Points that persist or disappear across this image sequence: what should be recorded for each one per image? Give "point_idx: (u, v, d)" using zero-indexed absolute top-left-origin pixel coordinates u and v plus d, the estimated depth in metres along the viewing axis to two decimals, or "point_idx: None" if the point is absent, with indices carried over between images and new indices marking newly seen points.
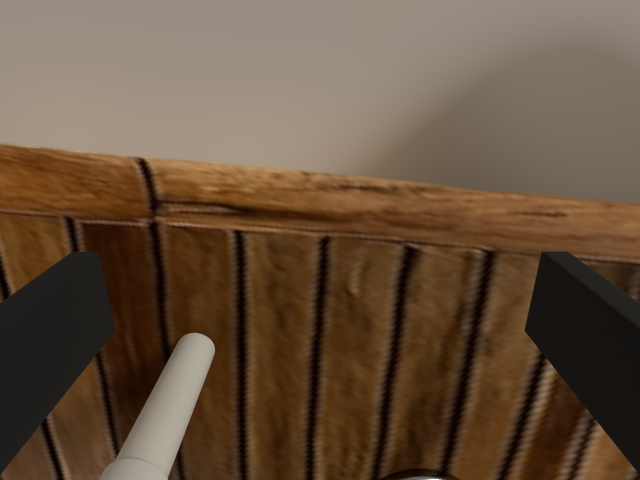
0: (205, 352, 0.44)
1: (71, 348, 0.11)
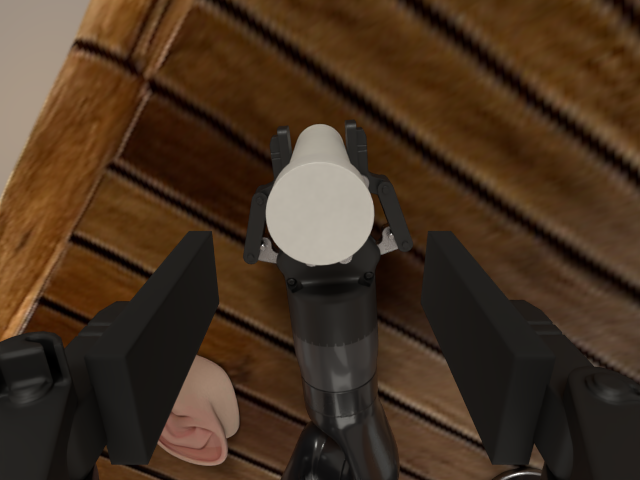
0: (318, 127, 0.34)
1: (200, 313, 0.12)
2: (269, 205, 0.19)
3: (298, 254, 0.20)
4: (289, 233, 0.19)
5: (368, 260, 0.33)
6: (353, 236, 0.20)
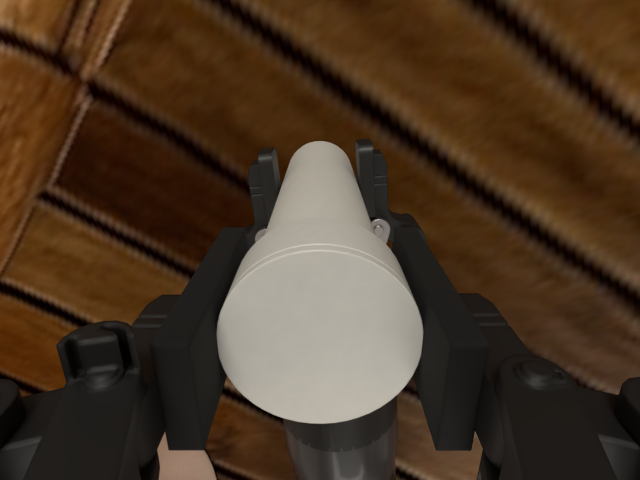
0: (317, 146, 0.25)
1: None
2: (222, 326, 0.10)
3: (280, 407, 0.11)
4: (262, 373, 0.10)
5: None
6: (382, 378, 0.10)
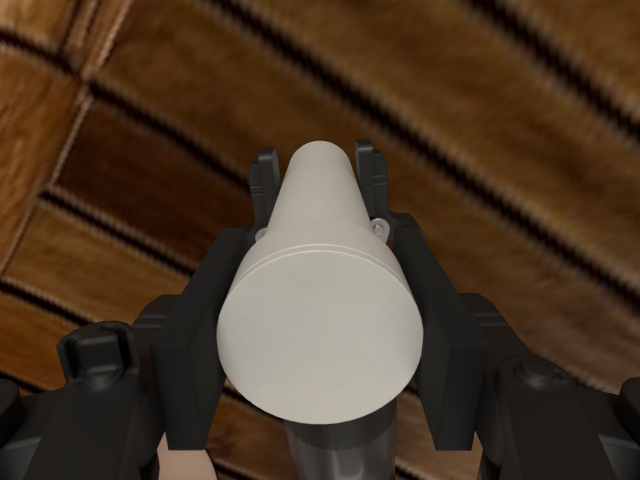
0: (317, 146, 0.25)
1: None
2: (291, 416, 0.11)
3: (391, 385, 0.10)
4: (347, 395, 0.11)
5: None
6: (370, 292, 0.09)
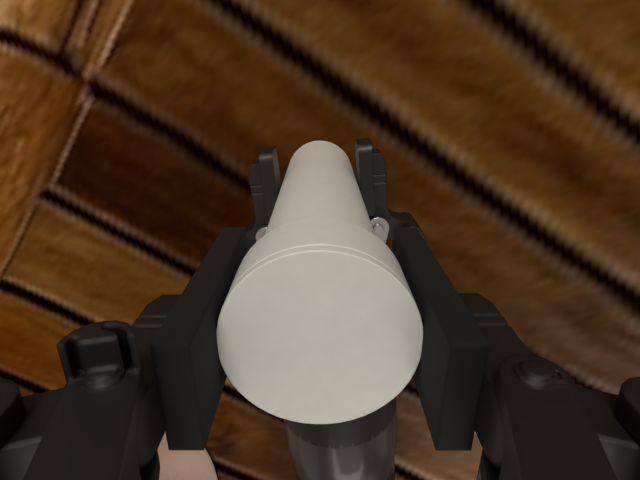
0: (317, 146, 0.25)
1: None
2: (406, 377, 0.10)
3: (381, 283, 0.09)
4: (386, 327, 0.10)
5: None
6: (261, 299, 0.10)
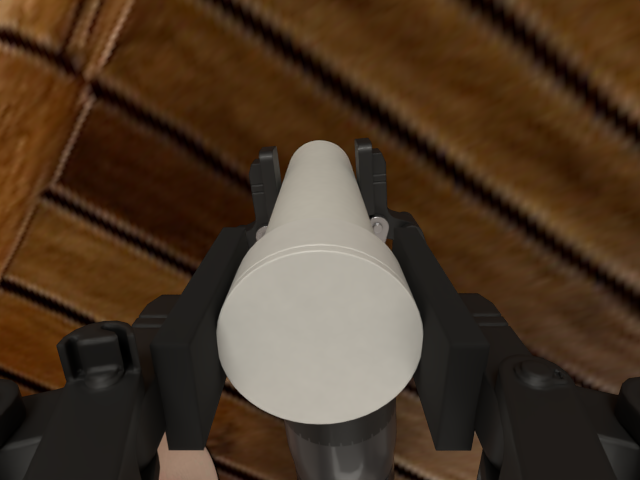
0: (317, 145, 0.25)
1: None
2: (372, 268, 0.09)
3: (252, 288, 0.09)
4: (303, 286, 0.09)
5: None
6: (263, 385, 0.10)
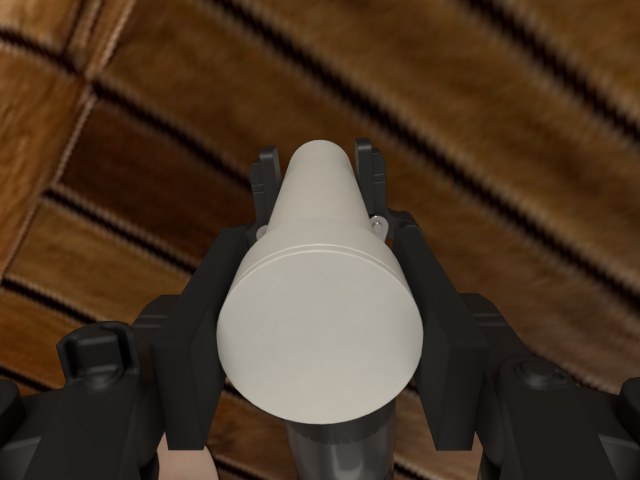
0: (317, 145, 0.25)
1: None
2: (236, 294, 0.10)
3: (252, 390, 0.11)
4: (252, 353, 0.10)
5: None
6: (361, 395, 0.11)
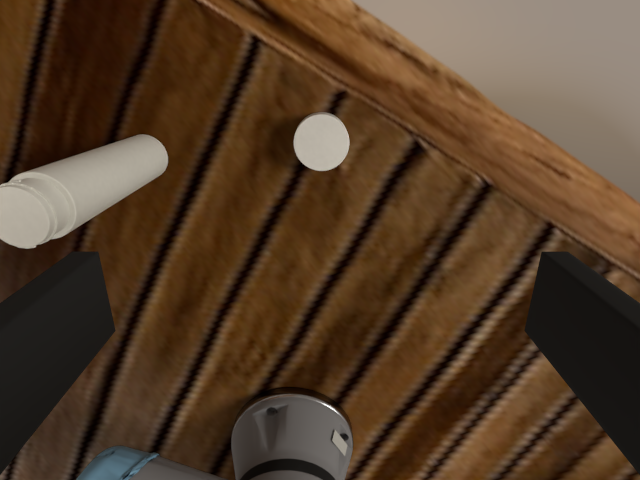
0: (158, 157, 0.38)
1: (71, 348, 0.11)
2: (304, 163, 0.38)
3: (334, 163, 0.38)
4: (321, 161, 0.38)
5: None
6: (339, 133, 0.37)
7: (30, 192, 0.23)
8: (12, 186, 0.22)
